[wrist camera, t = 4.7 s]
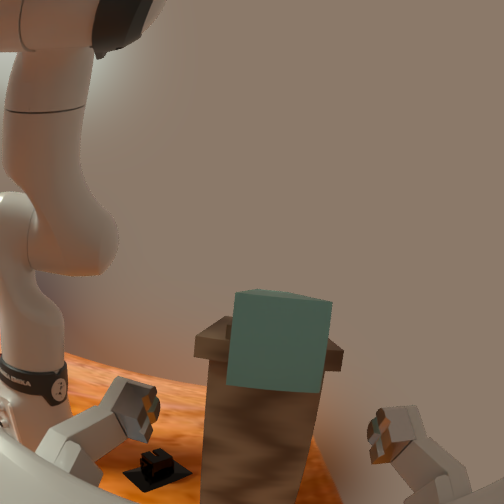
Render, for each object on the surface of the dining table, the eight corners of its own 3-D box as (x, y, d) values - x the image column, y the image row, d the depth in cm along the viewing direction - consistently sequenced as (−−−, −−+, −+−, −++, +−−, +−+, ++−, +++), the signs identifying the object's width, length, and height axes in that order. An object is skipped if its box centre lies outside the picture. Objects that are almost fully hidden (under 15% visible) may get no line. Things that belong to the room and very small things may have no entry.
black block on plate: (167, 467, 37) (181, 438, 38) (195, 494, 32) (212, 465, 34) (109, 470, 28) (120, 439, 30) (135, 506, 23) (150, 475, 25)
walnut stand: (188, 555, 15) (196, 321, 19) (209, 489, 29) (226, 307, 32) (283, 565, 15) (345, 336, 18) (280, 497, 29) (313, 316, 32)
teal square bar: (225, 384, 10) (235, 292, 10) (253, 319, 32) (256, 289, 32) (319, 393, 10) (332, 301, 10) (284, 323, 31) (287, 292, 32)
